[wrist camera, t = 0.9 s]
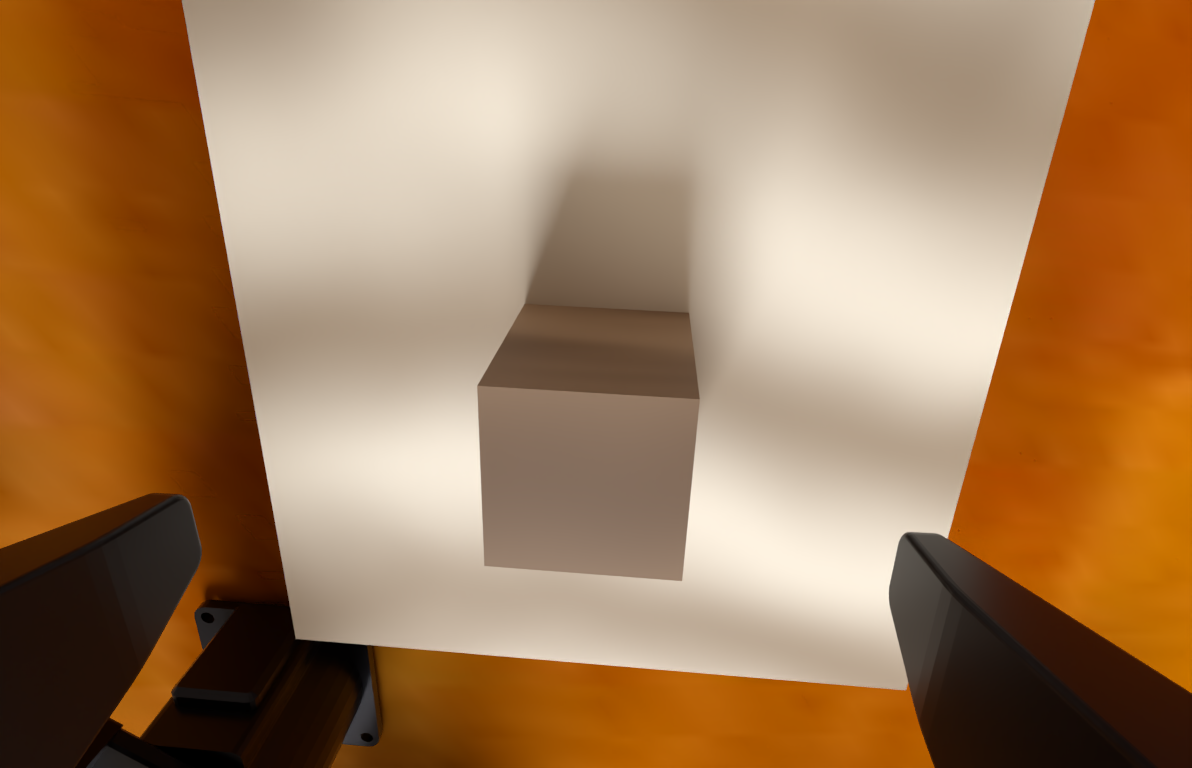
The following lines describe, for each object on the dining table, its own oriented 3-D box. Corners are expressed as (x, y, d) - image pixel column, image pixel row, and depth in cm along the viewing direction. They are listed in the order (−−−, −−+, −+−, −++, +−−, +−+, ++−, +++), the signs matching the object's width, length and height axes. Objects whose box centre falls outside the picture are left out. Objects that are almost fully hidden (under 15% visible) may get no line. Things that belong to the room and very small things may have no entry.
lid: (882, 630, 19) (972, 858, 13) (328, 586, 20) (203, 783, 14) (1040, -17, 13) (1323, -83, 7) (236, -37, 14) (-42, -109, 8)
